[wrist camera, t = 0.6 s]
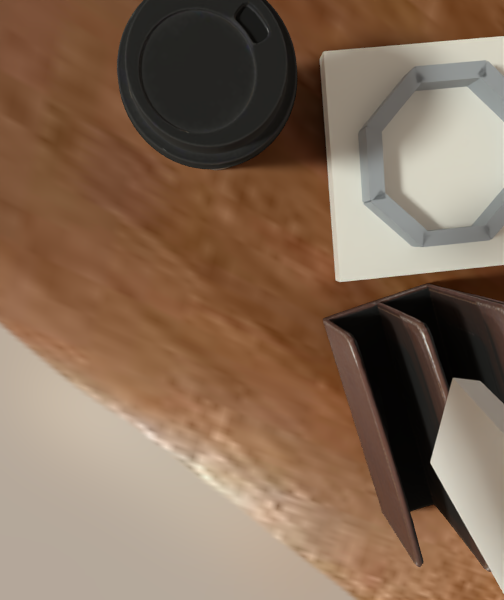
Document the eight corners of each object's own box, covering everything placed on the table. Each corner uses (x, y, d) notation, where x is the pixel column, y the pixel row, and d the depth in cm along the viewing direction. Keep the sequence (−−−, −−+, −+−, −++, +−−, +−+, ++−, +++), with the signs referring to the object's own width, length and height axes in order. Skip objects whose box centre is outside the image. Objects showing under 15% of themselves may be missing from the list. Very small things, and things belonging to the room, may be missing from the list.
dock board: (319, 59, 36) (329, 40, 33) (535, 40, 37) (567, 20, 33) (335, 280, 39) (346, 284, 35) (537, 259, 40) (567, 261, 36)
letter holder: (427, 281, 39) (537, 305, 26) (481, 479, 42) (605, 598, 28) (320, 317, 39) (371, 361, 25) (381, 513, 42) (457, 649, 28)
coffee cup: (290, 101, 37) (333, 8, 22) (247, 210, 38) (259, 192, 23) (181, 52, 36) (148, -81, 21) (139, 165, 37) (80, 116, 22)
